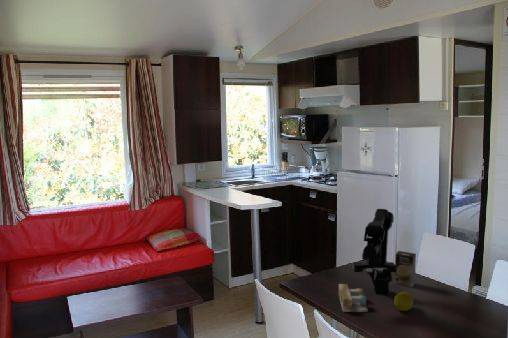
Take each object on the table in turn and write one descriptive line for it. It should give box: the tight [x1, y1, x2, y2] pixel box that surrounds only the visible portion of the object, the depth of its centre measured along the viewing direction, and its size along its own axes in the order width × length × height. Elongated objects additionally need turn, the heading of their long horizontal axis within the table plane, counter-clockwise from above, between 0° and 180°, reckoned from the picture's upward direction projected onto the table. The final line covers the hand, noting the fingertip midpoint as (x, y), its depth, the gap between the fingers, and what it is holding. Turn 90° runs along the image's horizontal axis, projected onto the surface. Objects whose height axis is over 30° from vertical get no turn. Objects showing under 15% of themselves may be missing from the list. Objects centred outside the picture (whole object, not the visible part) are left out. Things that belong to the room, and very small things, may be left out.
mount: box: [338, 283, 369, 313], centre depth 209 cm, size 11×18×6 cm, turn 175°
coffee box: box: [394, 250, 417, 288], centre depth 230 cm, size 9×6×16 cm
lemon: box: [393, 291, 414, 312], centre depth 201 cm, size 11×8×8 cm
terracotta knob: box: [348, 287, 364, 296], centre depth 212 cm, size 10×4×5 cm, turn 85°
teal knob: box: [351, 294, 367, 306], centre depth 205 cm, size 10×4×5 cm, turn 85°
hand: (374, 285), depth 203 cm, fingers closed
